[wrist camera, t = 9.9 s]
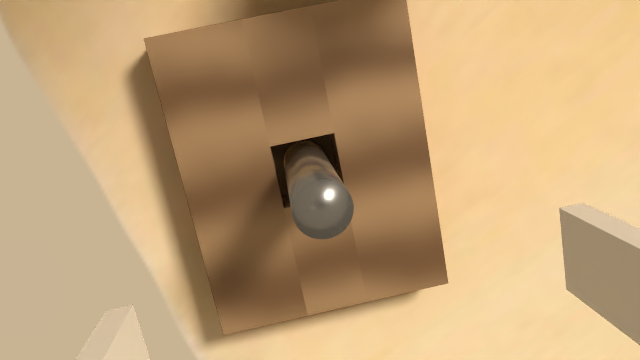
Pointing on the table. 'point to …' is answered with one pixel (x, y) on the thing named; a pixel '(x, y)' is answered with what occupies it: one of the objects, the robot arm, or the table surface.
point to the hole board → (293, 125)
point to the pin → (316, 192)
